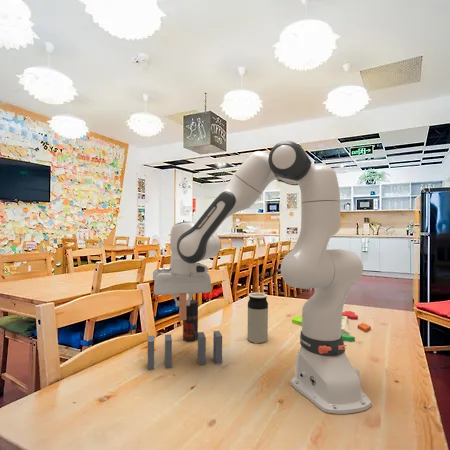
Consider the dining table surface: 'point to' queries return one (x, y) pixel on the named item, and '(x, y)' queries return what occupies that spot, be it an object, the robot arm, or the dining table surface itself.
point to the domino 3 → (182, 306)
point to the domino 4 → (201, 348)
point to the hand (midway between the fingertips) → (182, 306)
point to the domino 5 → (217, 347)
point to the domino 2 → (168, 351)
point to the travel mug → (257, 318)
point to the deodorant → (191, 322)
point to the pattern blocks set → (344, 325)
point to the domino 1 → (150, 352)
